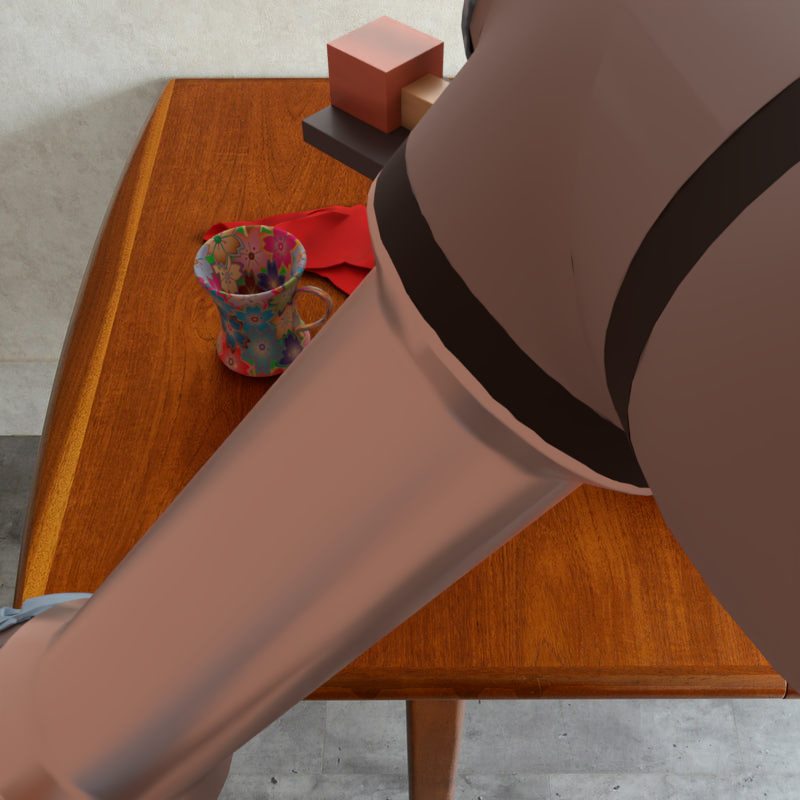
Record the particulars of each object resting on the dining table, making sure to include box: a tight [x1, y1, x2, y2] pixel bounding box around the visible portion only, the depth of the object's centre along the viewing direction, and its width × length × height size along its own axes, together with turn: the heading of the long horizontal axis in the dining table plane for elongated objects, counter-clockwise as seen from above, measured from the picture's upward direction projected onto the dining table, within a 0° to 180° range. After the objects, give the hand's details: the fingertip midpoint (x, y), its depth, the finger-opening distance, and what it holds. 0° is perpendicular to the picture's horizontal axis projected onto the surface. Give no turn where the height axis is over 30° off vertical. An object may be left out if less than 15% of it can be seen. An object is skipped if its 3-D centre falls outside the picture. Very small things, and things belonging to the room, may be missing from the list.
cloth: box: [202, 203, 375, 296], centre depth 91 cm, size 26×14×2 cm, turn 63°
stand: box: [301, 75, 453, 266], centre depth 66 cm, size 12×12×28 cm
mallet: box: [326, 15, 449, 134], centre depth 51 cm, size 5×22×4 cm, turn 46°
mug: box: [193, 225, 334, 378], centre depth 78 cm, size 12×9×11 cm
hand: (603, 194), depth 48 cm, fingers open, 13 cm apart
